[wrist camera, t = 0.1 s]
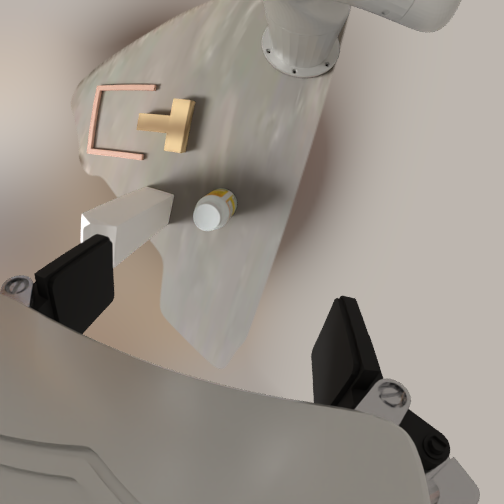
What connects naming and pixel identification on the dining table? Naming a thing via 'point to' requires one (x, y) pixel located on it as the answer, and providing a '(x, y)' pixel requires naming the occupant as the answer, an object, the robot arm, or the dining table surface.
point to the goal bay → (94, 120)
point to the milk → (128, 220)
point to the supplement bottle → (214, 209)
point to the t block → (171, 124)
